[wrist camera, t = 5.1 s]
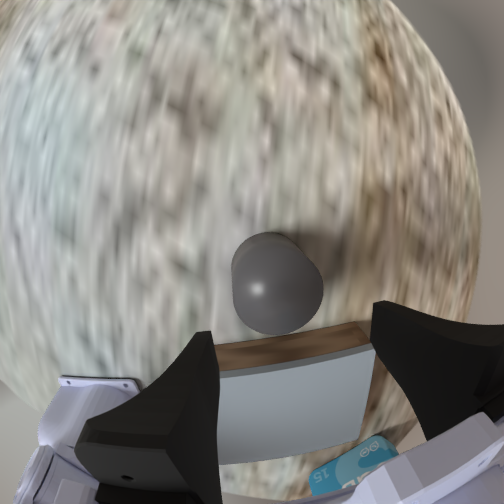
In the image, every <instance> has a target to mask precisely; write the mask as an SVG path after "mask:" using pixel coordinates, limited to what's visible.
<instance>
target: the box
mask: <svg viewBox="0 0 504 504" xmlns="http://www.w3.org/2000/svg"><path fill="white" fill-rule="evenodd" d="M369 343H371V342H370V340H369V339H368V338H367V336H366V335H365V334H364V333H363V331H362V330H361V329H360V328H359V326H358V325H357V324H356V323H355V322H351V323H346V324H342V325H337V326H332V327H327V328H322V329H317V330H312V331H307V332H302V333H296V334H290V335H284V336H278V337H272V338H266V339H259V340H252V341H245V342H237V343H229V344H221V345H214V347H215V352H216V356H217V360H218V365H219V371H228V370H237V369H244V368H252V367H259V366H265V365H272V364H278V363H284V362H289V361H295V360H300V359H305V358H310V357H315V356H320V355H324V354H329V353H333V352H337V351H342V350H346V349H350V348H354V347H358V346H362V345H365V344H369Z"/></svg>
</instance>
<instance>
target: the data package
mask: <svg viewBox="0 0 504 504" xmlns="http://www.w3.org/2000/svg"><path fill="white" fill-rule="evenodd" d="M397 455H399V454H398V452H397V450H396V448H395V446H394V445H393V444H392V443H390V442H389V441H388V440H386V439H385V438H384V437H382V436H379V435H375V436H372V437H370V438H368V439H367V440H365V441H364V442H362V443H361V444H359V445H358V446H356V447H354V448H353V449H351V450H349V451H348V452H346V453H344V454H343V455H341V456H339V457H337V458H336V459H334V460H332V461H330V462H328V463H327V464H325V465H323V466H321V467H319V468H317V469H315V470H314V471H313V472H312V473H311V474H310V476H309V484H310V488H311V491H312V495H313V496H316V495H320V494H324V493H328V492H332V491H336V490H339V489H343V488H346V487H349V486H352V485H356V484H359V483H360V481H361V480H362V479H363V478H364V477H365V476H366V475H367V474H368V473H369V472H371V471H372V470H374V469H375V468H377V467H378V466H379V465H381V464H382V463H384V462H386V461H388V460H390V459H392V458H394V457H396V456H397Z"/></svg>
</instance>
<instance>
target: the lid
mask: <svg viewBox="0 0 504 504" xmlns="http://www.w3.org/2000/svg"><path fill="white" fill-rule="evenodd" d="M375 353H376V351H375V350H374V348H373V346H372V344H371V343H369V344H365V345H362V346H358V347H354V348H350V349H346V350H342V351H337V352H333V353H329V354H324V355H320V356H315V357H310V358H305V359H300V360H295V361H289V362H284V363H278V364H272V365H265V366H259V367H252V368H244V369H237V370H228V371H220V398H219V410H218V423H217V449H218V464H219V465H226V464H238V463H248V462H256V461H264V460H271V459H277V458H283V457H289V456H294V455H299V454H304V453H308V452H313V451H317V450H321V449H325V448H329V447H333V446H337V445H340V444H344V443H347V442H350V441H354V440H357V439H358V437H359V433H360V429H361V425H362V421H363V417H364V413H365V408H366V404H367V399H368V394H369V389H370V383H371V378H372V372H373V366H374V360H375Z"/></svg>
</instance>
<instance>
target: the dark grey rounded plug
mask: <svg viewBox="0 0 504 504" xmlns="http://www.w3.org/2000/svg"><path fill="white" fill-rule="evenodd" d="M231 270H232V289H233V303H234V307H235V310H236V312H237V314H238V316H239V318H240V319H241V320H242V321H243V322H244V323H245V324H246V325H247V326H248V327H250V328H251V329H253V330H255V331H257V332H260V333H263V334H268V335H281V334H286V333H290V332H293V331H295V330H297V329H299V328H301V327H302V326H304V325H305V324H306V323H308V322H309V321H310V320H311V319H312V318H313V316H314V315H315V314H316V312H317V311H318V309H319V307H320V305H321V302H322V298H323V281H322V278H321V275H320V273H319V271H318V269H317V268H316V267H315V265H314V264H313V263H312V262H311V261H310V260H309V259H308V258H307V257H306V256H305V254H304V253H303V252H302V251H301V250H300V249H299V248H298V247H297V246H296V245H295V244H294V243H293V242H292V241H291V240H290V239H288V238H287V237H285V236H283V235H280V234H277V233H270V232H267V233H260V234H256V235H254V236H252V237H250V238H248V239H247V240H245V241H244V242H243V243H242V244H241V245H240V246H239V247H238V249H237V250H236V252H235V254H234V257H233V260H232V267H231Z"/></svg>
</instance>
